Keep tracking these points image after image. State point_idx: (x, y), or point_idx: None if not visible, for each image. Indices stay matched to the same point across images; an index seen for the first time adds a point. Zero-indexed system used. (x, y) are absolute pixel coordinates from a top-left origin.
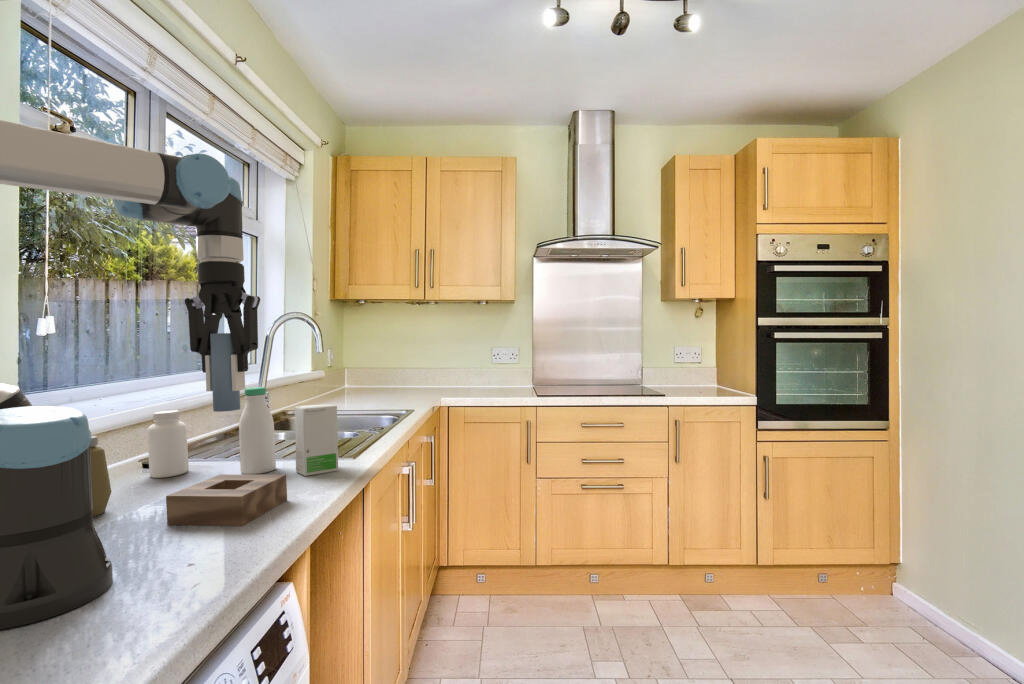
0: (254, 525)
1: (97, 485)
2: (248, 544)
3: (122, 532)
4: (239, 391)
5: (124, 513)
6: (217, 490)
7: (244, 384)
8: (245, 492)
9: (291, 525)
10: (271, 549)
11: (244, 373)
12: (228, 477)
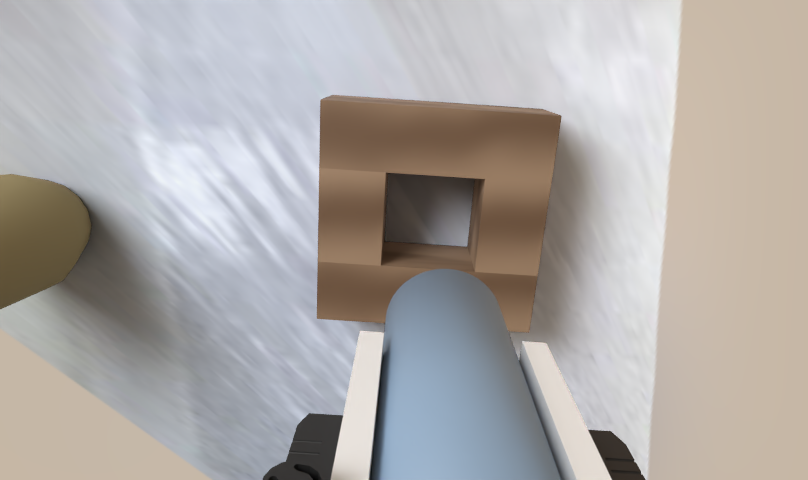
0: (541, 297)
1: (54, 261)
2: (580, 394)
3: (260, 329)
4: (513, 346)
5: (144, 206)
6: None
7: (551, 362)
8: (521, 299)
9: (629, 300)
10: (636, 416)
11: (571, 397)
12: (376, 141)
